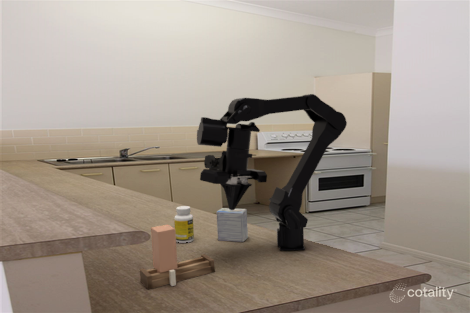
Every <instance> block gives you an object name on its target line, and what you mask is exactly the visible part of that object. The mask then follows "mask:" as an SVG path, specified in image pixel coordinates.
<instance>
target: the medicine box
mask: <svg viewBox="0 0 470 313" xmlns="http://www.w3.org/2000/svg"><path fill="white" fill-rule="evenodd" d="M247 212H248V210H247V208H235V209H234V210H230V209H229V207H222V208H220V209H218V210H217V211H216V228H217V230H216V231H217V241H225V242H226V241H227V242H238V243H240V242H241V243H244V242H245V241H246V240H247V239H248V238H249V232H248V231H249V230H248V229H249V228H248V213H247Z"/></svg>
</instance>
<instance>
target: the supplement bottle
mask: <svg viewBox="0 0 470 313" xmlns="http://www.w3.org/2000/svg"><path fill="white" fill-rule="evenodd" d="M175 210H176V211H175V212H176V214H175V216H174V219H173V220H174V228H175V232H176V243H178V242H179V243H178V244H186V242H188V243H191V242H193V241H194V239H195V235H194V234H195V232H194V216H193V214H192V213H191V206H188V205H181V206H177V207H176V209H175Z"/></svg>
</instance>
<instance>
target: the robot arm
mask: <svg viewBox="0 0 470 313" xmlns="http://www.w3.org/2000/svg"><path fill="white" fill-rule="evenodd" d="M227 107H228V108H227V111H226V112H225V113H224V114H223V116H222V117H221V118H219V119H214V118H210V117H205V116H204V117H200V122H199V125H198V129H197V130H196V143H197V145H198V146H206V147H218V148H221V147H222V146H223V144H226V150H222V151H221V156H220V157H216V156H215V155H213V154H208V155H205V157H204V161H203V165H204V168H203V170H202V171H201V172H200V176H199V177H200V178H199V181H202V182H206V183H210V184H213V185H214V184H215V185H219V184H220V186H221V187H222V188H223V191H224V194H225V198H226V202H227V206H228V208H229V209H230V210H234V209H237V208H236V207H237V206H238V204H239V203H240V202H241V199H242V198H243V196H244V195H245V194H246V192H247V191H248V190H249V188H250V187H252V185H253V184H252V183H249V180H255V181H257V183H267V181H268V180H267V179H268V174H267V173H266V171H264V170H261V169H260V170H259V169H254V168H248V165H249V159H252V158H253V153H250V147H251V137H252V132H253V133H255V132H256V133H260V128H259V127H258V126H257V125H256V123H255V122H254V121H252V120H257V119H260V118H262V117H264V116H267V115H272V114H280V113H281V114H282V113H287V112H296V111H304V112H305V114H306V115H307V116H308V118H309V120H311V121H312V122H313V126H312V132H311V139H310V141H309V143H308V145H307V147H306V148H305V150H304V152H303V154H302V155H301V157H300V160H299V161H298V163H297V165H296V167H295V168H294V170H293V172H292V174H291V176H290V177H289V179H288V182H287V183H286V184H285V186H283V187H282V188H280V187H278V186H276V188H275V189H274V191H273V193H272V195H271V197H269V199H268V201H269V205H268V208H269V212H270V215H272V216H273V217H274V218H275V221H276V222H278V228H277V229H276V244H277V247H279V251H305V250H306V246H305V242H304V241H305V239H304V228H306V227H307V224H308V218H307V217H306V216H305V215H303V213H301V208H302V205H303V195H304V192H305V189H306V188H307V186H308V185H309V182H310V181H311V179H312V177H313V175H314V173H315V171H316V169H317V167H318V165H319V163H320V162H321V160H322V158H323V156H324V155H325V153H326V151H327V149H328V148H329V146H330V145H331V144H333V143H334V142H335V141H336V140H337V139H338V138H339V137H340V136H341V134H342V133H343V132H344V131H345V129H346V127H347V124H348V121H347V119H346V117H345V115H344V114H343V113H342V112H340V111H337V110H336V109H335V108H334V107H332V106H331V105H329V104H328V103H326V102H325V101H323V100H322V99H321V98H320V97H319V96H317V95H316V94H315V93H310V94H309V93H308V94H303V95H300V96H299V95H297V96H291V97H281V98H272V99H262V98H252V97H251V98H250V97H241V98H236V99H235V98H234V99H233V100H231V101H230V103H229V104H228V106H227ZM249 121H250V122H249ZM240 122H249V123H240ZM228 125H235V126H234V127H233V126H228Z"/></svg>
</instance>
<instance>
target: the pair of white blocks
mask: <svg viewBox="0 0 470 313" xmlns="http://www.w3.org/2000/svg"><path fill="white" fill-rule="evenodd" d="M169 277H170V284H169V286H171V287H173V286H177V282H176V276H175V270H174V269H173V270H169Z"/></svg>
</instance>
